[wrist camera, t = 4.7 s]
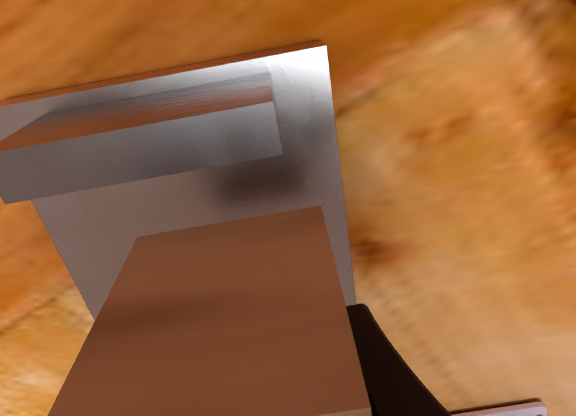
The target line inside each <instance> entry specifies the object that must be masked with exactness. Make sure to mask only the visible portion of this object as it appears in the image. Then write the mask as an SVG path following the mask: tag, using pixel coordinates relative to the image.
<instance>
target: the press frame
mask: <svg viewBox="0 0 576 416" xmlns="http://www.w3.org/2000/svg"><path fill="white" fill-rule="evenodd" d="M0 196H1V198H2V200H3V202H4V203H5V204H9V203H15V202H20V201H26V200H31V201H32V203H33V204H34V206H35V208H36V210H37V212H38V214H39V216H40V218H41V220H42V221H43V223H44V225H45V227H46V229H47V231H48V233H49V235H50V237H51V238H52V240H53V242H54V244H55V246H56V248H57V250H58V252H59V254H60V256H61V257H62V259H63V261H64V263H65V265H66V267H67V269H68V271H69V273H70V274H71V276H72V278H73V280H74V282H75V284H76V286H77V288H78V290H79V291H80V293H81V295H82V297H83V299H84V301H85V303H86V305H87V307H88V308H89V310H90V312H91V314H92V316H93V318H94V320H96V318H97V316H98V314H99V312H100V310H101V308H102V306H103V304H104V302H105V300H106V298H107V296H108V294H109V292H110V290H111V288H112V286H113V284H114V282H115V280H116V278H117V276H118V274H119V272H120V270H121V268H122V266H123V264H124V262H125V260H126V258H127V256H128V254H129V253H130V251H131V249H132V247H133V245H134V243H135V241H136V239H137V237H139V236H145V235H151V234H157V233H163V232H169V231H174V230H180V229H186V228H192V227H198V226H203V225H209V224H215V223H221V222H227V221H233V220H238V219H244V218H250V217H256V216H262V215H268V214H273V213H279V212H285V211H291V210H297V209H303V208H308V207H314V206H320V205H321V208H322V212H323V216H324V221H325V225H326V229H327V233H328V237H329V241H330V245H331V249H332V253H333V257H334V261H335V265H336V269H337V273H338V277H339V281H340V285H341V289H342V293H343V297H344V301H345V305H346V306H350V305H356V297H355V288H354V279H353V271H352V262H351V254H350V245H349V237H348V228H347V220H346V211H345V202H344V194H343V185H342V177H341V168H340V160H339V151H338V142H337V134H336V125H335V117H334V108H333V100H332V91H331V83H330V74H329V65H328V57H327V48H326V45H325V44H324V43H323V42H322V41H321V40H318V41H312V42H307V43H302V44H296V45H291V46H285V47H280V48H275V49H269V50H264V51H259V52H253V53H248V54H243V55H237V56H232V57H227V58H221V59H216V60H211V61H205V62H200V63H194V64H189V65H184V66H178V67H173V68H168V69H162V70H157V71H152V72H146V73H141V74H136V75H130V76H125V77H120V78H114V79H109V80H103V81H98V82H93V83H87V84H82V85H77V86H71V87H66V88H61V89H55V90H50V91H45V92H39V93H34V94H29V95H23V96H18V97H13V98H7V99H5V100H2V101H0Z"/></svg>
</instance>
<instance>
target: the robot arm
mask: <svg viewBox="0 0 576 416" xmlns="http://www.w3.org/2000/svg"><path fill="white" fill-rule="evenodd" d="M346 309H347V313H348V317H349V321H350V325H351V329H352V333H353V337H354V341H355V345H356V350H357V354H358V358H359V362H360V366H361V370H362V374H363V378H364V382H365V386H366V390H367V394H368V398H369V402H370V406H371V413H372V416H546V414H547V407H546V406H545V404H544V403H543V402H531V403H525V404H518V405H512V406H505V407H499V408H492V409H486V410H479V411H473V412H466V413H460V414H453V415H450V413H449V412H448V411H447V410H446V409H445V408H444V407H443V406H442V405H441V404H440V403H439V402H438V400H437V399H436V398H435V397H434V396H433V395H432V394H431V393H430V391H429V390H428V389H427V388H426V387H425V386H424V385H423V383H422V382H421V381H420V380H419V379H418V377H417V376H416V375H415V374H414V373H413V371H412V370H411V369H410V368H409V366H408V365H407V364H406V363H405V361H404V360H403V359H402V358H401V356H400V355H399V354H398V352H397V351H396V350H395V348H394V347H393V346H392V344H391V343H390V341H389V340H388V339H387V337H386V336H385V334H384V333H383V331H382V330H381V328H380V327H379V325H378V324H377V322H376V321H375V319H374V317H373V316H372V314H371V312H370V310H369V308H368V307H367V306H366V305H364V304H363V303H362V304H356V305H350V306H346Z"/></svg>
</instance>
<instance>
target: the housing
mask: <svg viewBox="0 0 576 416" xmlns="http://www.w3.org/2000/svg"><path fill="white" fill-rule="evenodd" d="M48 416H372V413H371V406H370V402H369V398H368V394H367V390H366V386H365V382H364V378H363V374H362V370H361V366H360V362H359V358H358V354H357V350H356V345H355V341H354V337H353V333H352V329H351V325H350V321H349V317H348V313H347V309H346V305H345V301H344V297H343V293H342V289H341V285H340V281H339V277H338V273H337V269H336V265H335V261H334V257H333V253H332V249H331V245H330V241H329V237H328V233H327V229H326V225H325V221H324V216H323V212H322V208H321V205H320V206H314V207H308V208H303V209H297V210H291V211H285V212H279V213H273V214H268V215H262V216H256V217H250V218H244V219H238V220H233V221H227V222H221V223H215V224H209V225H203V226H198V227H192V228H186V229H180V230H174V231H169V232H163V233H157V234H151V235H145V236H139V237H137V239H136V241H135V243H134V245H133V247H132V249H131V251H130V253H129V254H128V256H127V258H126V260H125V262H124V264H123V266H122V268H121V270H120V272H119V274H118V276H117V278H116V280H115V282H114V284H113V286H112V288H111V290H110V292H109V294H108V296H107V298H106V300H105V302H104V304H103V306H102V308H101V310H100V312H99V314H98V316H97V318H96V320H95V322H94V324H93V326H92V328H91V330H90V332H89V334H88V336H87V338H86V340H85V342H84V344H83V346H82V348H81V350H80V352H79V354H78V356H77V358H76V360H75V362H74V364H73V366H72V368H71V370H70V372H69V374H68V376H67V378H66V380H65V382H64V384H63V386H62V388H61V390H60V392H59V394H58V396H57V398H56V400H55V402H54V404H53V406H52V408H51V410H50V412H49V414H48Z"/></svg>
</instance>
